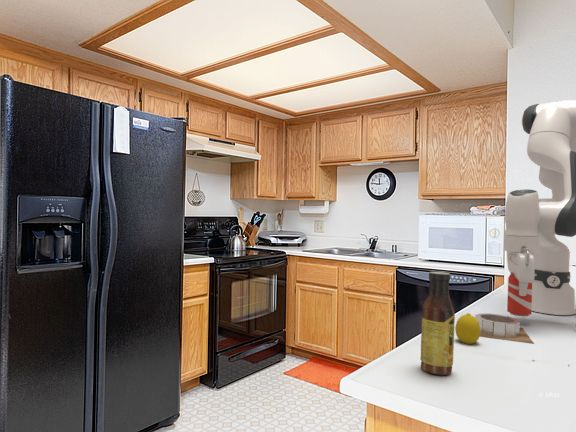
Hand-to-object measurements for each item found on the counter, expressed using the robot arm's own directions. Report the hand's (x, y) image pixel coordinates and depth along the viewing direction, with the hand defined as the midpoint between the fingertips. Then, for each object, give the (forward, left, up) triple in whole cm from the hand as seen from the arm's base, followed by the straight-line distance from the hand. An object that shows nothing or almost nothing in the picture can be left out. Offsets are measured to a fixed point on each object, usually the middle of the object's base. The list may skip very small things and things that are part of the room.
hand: (519, 292), depth 119 cm
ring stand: (+13, -7, -10) cm, 18 cm away
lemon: (+27, -15, -10) cm, 32 cm away
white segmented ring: (+13, -7, -9) cm, 17 cm away
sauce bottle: (+47, -22, -10) cm, 53 cm away
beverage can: (0, 0, -7) cm, 7 cm away
